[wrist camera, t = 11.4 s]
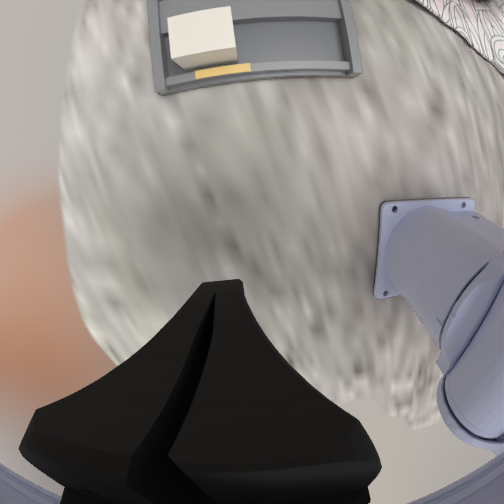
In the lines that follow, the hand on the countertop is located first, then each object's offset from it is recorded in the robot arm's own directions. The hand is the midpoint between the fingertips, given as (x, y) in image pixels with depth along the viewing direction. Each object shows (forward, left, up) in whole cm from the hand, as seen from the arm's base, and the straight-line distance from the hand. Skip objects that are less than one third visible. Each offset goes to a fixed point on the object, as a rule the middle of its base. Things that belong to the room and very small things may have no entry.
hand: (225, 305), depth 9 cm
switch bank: (-3, -14, -10) cm, 17 cm away
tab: (0, -11, -9) cm, 14 cm away
